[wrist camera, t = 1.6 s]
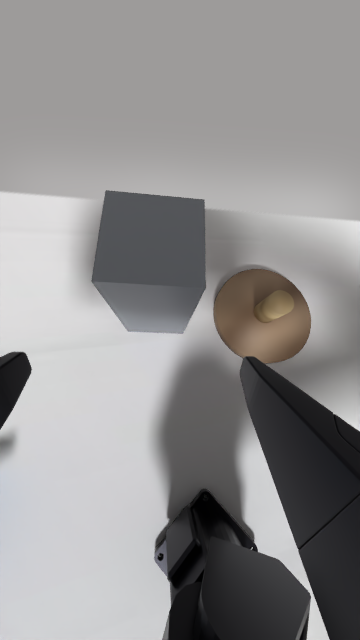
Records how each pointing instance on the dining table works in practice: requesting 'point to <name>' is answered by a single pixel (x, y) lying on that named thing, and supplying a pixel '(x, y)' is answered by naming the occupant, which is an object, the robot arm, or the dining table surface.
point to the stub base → (253, 330)
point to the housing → (151, 260)
